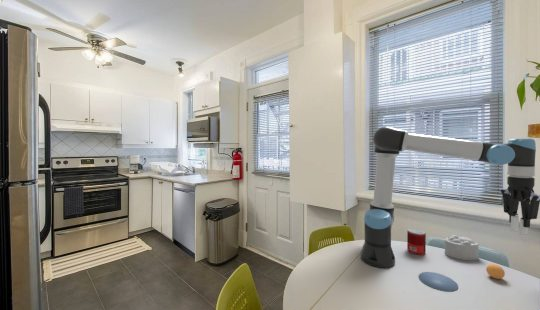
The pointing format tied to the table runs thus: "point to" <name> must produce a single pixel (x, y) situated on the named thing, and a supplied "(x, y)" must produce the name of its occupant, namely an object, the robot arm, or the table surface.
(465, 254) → the lumpy-topped squat cylinder
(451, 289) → the disc
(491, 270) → the ball
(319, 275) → the table surface
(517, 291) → the table surface
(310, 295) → the table surface
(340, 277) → the table surface
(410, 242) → the canned food
